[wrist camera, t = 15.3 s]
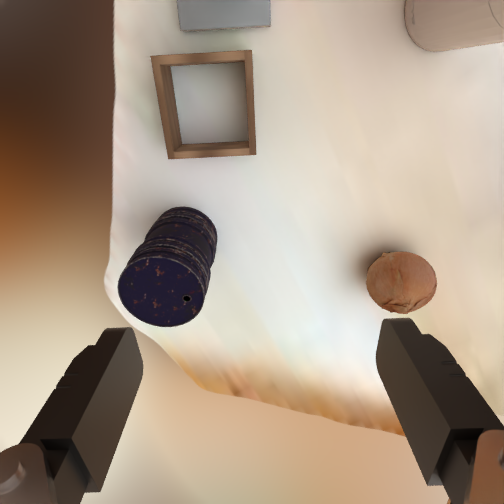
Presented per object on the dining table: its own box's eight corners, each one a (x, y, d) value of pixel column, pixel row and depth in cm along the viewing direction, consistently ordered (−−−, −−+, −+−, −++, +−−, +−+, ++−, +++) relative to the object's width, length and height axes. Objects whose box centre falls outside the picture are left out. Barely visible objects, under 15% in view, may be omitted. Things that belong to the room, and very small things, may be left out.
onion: (373, 275, 56) (375, 328, 50) (358, 242, 50) (359, 298, 44) (435, 268, 51) (445, 325, 45) (427, 230, 45) (437, 291, 39)
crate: (251, 53, 37) (251, 49, 33) (255, 146, 42) (256, 154, 38) (162, 58, 37) (150, 55, 33) (177, 151, 42) (168, 159, 38)
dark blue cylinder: (151, 257, 50) (115, 320, 37) (155, 199, 46) (116, 248, 33) (212, 268, 51) (199, 333, 38) (223, 213, 47) (212, 265, 34)
